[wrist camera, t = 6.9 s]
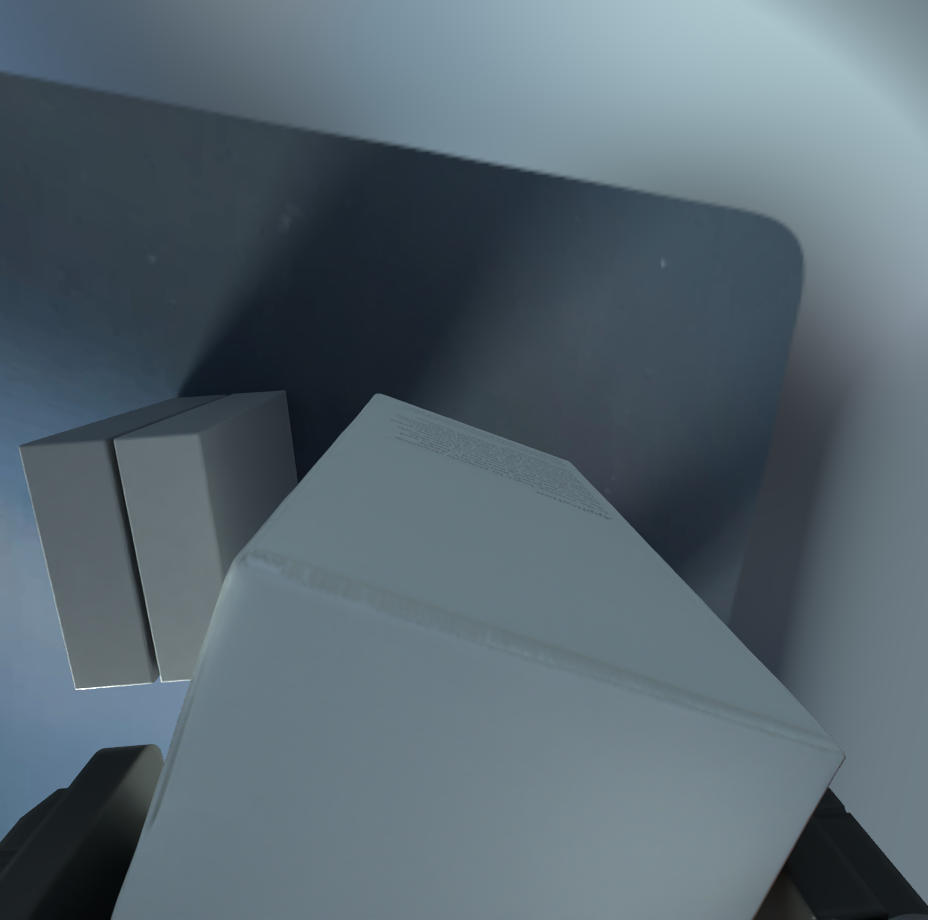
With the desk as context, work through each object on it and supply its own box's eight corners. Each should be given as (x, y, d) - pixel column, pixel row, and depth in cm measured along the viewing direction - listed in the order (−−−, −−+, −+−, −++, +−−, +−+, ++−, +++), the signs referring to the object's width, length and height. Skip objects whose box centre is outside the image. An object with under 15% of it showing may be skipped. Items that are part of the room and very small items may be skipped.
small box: (483, 685, 20) (552, 1313, 7) (294, 627, 19) (13, 1209, 7) (577, 457, 18) (875, 757, 6) (375, 385, 18) (209, 545, 5)
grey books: (286, 390, 29) (198, 432, 18) (307, 551, 30) (239, 677, 20) (173, 398, 28) (16, 445, 18) (201, 559, 30) (74, 690, 20)
